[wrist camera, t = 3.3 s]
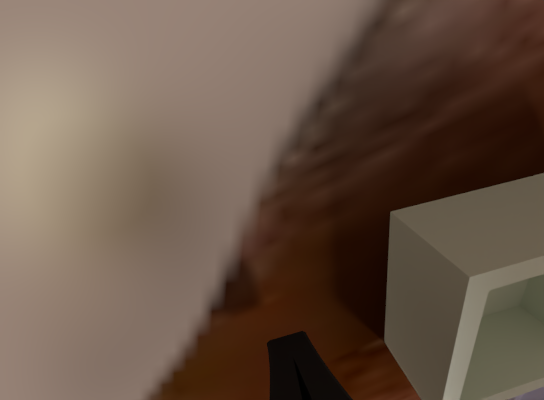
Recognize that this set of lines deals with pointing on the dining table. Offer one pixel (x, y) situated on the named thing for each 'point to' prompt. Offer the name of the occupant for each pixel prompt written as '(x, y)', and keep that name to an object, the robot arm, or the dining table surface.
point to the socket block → (469, 292)
